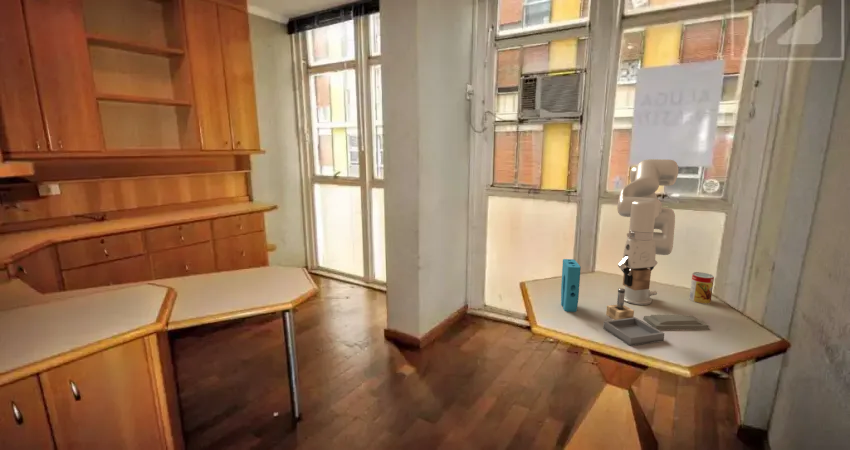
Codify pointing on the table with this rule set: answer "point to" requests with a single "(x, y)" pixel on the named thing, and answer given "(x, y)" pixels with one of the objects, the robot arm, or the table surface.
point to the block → (570, 285)
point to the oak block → (619, 312)
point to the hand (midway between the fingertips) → (635, 283)
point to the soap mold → (675, 322)
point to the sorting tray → (633, 331)
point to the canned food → (701, 287)
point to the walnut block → (639, 279)
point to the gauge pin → (620, 299)
